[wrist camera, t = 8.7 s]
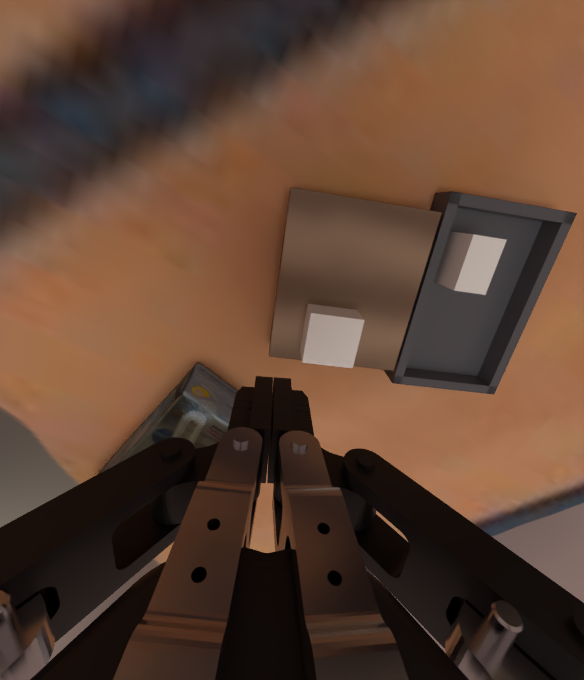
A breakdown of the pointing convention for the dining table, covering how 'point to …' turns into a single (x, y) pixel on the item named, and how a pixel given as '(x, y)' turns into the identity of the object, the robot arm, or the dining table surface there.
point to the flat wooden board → (351, 270)
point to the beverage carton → (185, 415)
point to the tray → (479, 295)
